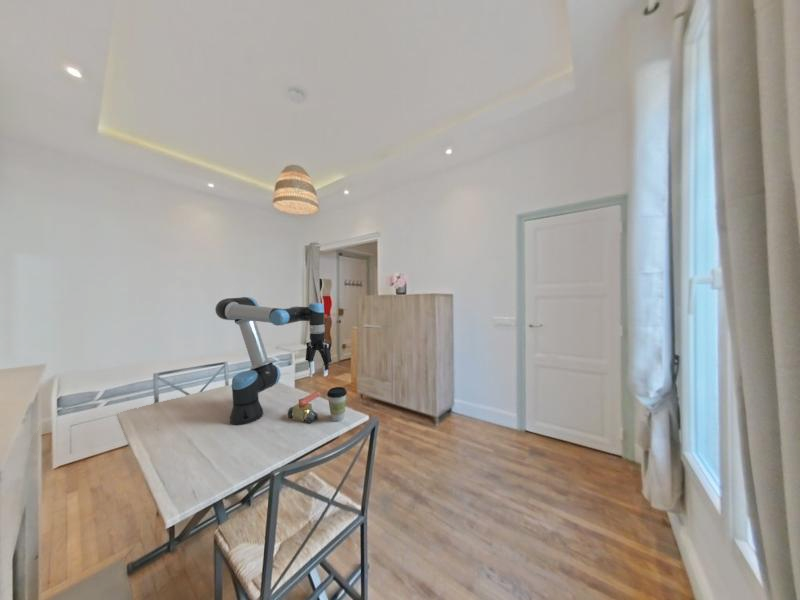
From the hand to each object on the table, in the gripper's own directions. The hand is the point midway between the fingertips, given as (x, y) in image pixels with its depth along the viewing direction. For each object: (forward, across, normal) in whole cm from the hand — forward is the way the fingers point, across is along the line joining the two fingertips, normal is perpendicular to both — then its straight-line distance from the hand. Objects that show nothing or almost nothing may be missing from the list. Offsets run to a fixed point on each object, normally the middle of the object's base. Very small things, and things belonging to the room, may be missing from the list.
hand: (318, 374), depth 144 cm
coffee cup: (+22, +12, 0) cm, 25 cm away
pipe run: (+21, -5, -8) cm, 23 cm away
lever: (+14, -5, -2) cm, 15 cm away
